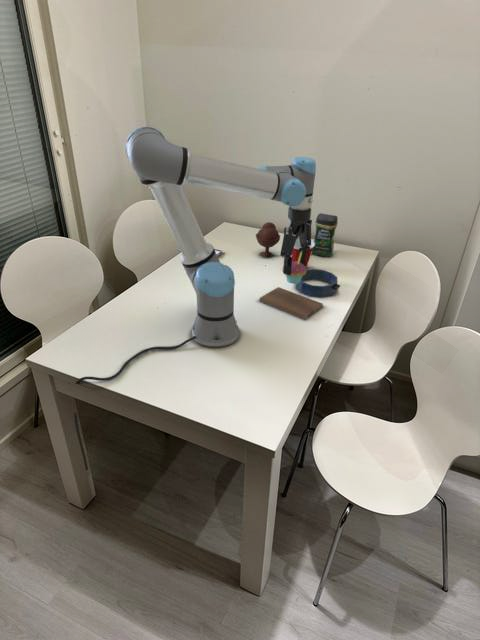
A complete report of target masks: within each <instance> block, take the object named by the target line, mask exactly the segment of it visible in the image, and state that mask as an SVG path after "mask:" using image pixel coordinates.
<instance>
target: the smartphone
mask: <svg viewBox="0 0 480 640" xmlns="http://www.w3.org/2000/svg"><path fill="white" fill-rule="evenodd" d="M214 250H215V252H216V254H217V256H218V257H219V256H221V255H222V254H223V250H221V249H216V248H214Z"/></svg>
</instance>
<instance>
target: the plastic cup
mask: <svg viewBox="0 0 480 640" xmlns="http://www.w3.org/2000/svg"><path fill="white" fill-rule="evenodd" d="M307 242H308V241H307ZM314 246H315V242H314V240H312V239H311V245H310V246H309V247H310V249H307V253H306V262H305V267H306V269H307V268H308V264H309V262H310V258H311V255H312V249H313V247H314ZM299 248H302V247H301V245H300V240H299V237H298V239H296V242H295V245H294V248H293V252H292V255H291V257H292V262H294V261H297V262H298V256H299Z"/></svg>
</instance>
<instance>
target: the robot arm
mask: <svg viewBox="0 0 480 640" xmlns="http://www.w3.org/2000/svg"><path fill="white" fill-rule="evenodd" d="M125 154H126V156H127V158H128V160H129V162H130V165H131V168H133V170H134V171H135V173H136V175H137V177H138V180H139V182H140V183H141V185H142V186H144V187H147V188H149V190H150V191H151V194H152V195H153V197H154V200H155V201H156V204H157V206H158V208H159V210H160V212H161V214H162V216H163V218H164V220H165V222H166V224H167V226H168V229H169V230H170V232H171V234H172V236H173V238H174V240H175V242H176V244H177V246H178V248H179V251H180V253H181V256H180V258H179V260H180V263H181V265H182V266H183V269H184V270H185V273H186V275H187V277H188V279H189V281H190V283H191V285H192V287H193V290H194V292H195V295H196V311H197V312H196V316H195V320H194V323H193V326H192V328H191V336H192V337H190V338H188V339H186V340H184V341H183V342H180V343H179V344H177V345H174V346H173V345H172V346H152V347H148V348H145V349H142V350H140V351H139V352H137V353H135V354H134V355H132V357H129V359H127V360H126V361H125V362H124V363H123V364H122V366H121V367H120V368H119V370H118V371H117V372H116V373H115V374H113V375H111V376H108V377H97V376H83V377H80V378H79V379H78V380H76V382H74V383H75V385H78V384H80V382H82V381H85V380H92V381H100V382H102V381H104V382H107V381H111V380H113V379H115V378H116V377H118V376H119V375H120V374H122V372H123V370H124V369H125V367H126V366H127V365H129V363H130V362H132V361H133V360H135V359H136V358H137V357H139V356H140V355H142V354H145V353H147V352H150V351H154V350H174V349H178V348H179V349H180V348H181V347H183V346H184V345H186V344H187V343H190V342H191V341H194V342H196V343H197V344H199V345H201V346H204V347H207V348H223V347H227V346H230V345H232V344H234V343H235V342H236V341H237V340H238V339H239V333H240V329H239V326H238V321H237V319H236V317H235V314H234V312H235V310H234V308H235V285H236V279H235V273H234V271H233V269H232V268H231V267H230V266H229V265H227V264H224V263H223V262H221V261H220V259H219V256H217V254H216V252H215V250H214V249H215V248H214V245H213V244H212V243H209V242H207V241H206V239H205V237H204V234H203V232H202V230H201V228H200V225H199V224H198V221H197V219H196V217H195V215H194V213H193V212H194V211H193V210H192V208H191V205H190V203H189V201H188V198H187V196H186V194H185V192H184V190H183V188H182V186H183V185H184V184H191V185H197V186H201V187H206V188H212V189H217V190H222V191H225V192H226V191H227V192H231V193H236V194H242V195H246V196H253V197H257V198H262V199H267V200H271V201H276V202H280V203H282V204H283V205H284V206H288V210H287V211H288V212H287V218H288V219H289V220H290V223H289V226H288V227H287V226H286V227H284V228H283V239H282V243H281V249H280V254H279V255H280V257H282V258H283V266H284V269H283V271H282V274H284V275H285V274H287V275H291V267H292V252H293V248H294V245H295V242H296V239H298V238H299V240H300V245H301V247H302V248H299V255H300V252H301V251H302V255H301V259H300V263H302V264H304V265H305V262H306V253H307V249H310V247H309V246H310V245H311V240H312V225H313V224H312V223H313V219H311V217H312V216H311V215H312V205H313V201H314V199H313V195H314V187H315V180H316V178H315V177H316V174H317V173H316V169H317V166H316V165H317V162H316V160H315V159H314V158H312V157H307V156H298V157H297V156H296V157H294V158H293V159H292V161H291V164H289V165H266V166H265V165H264V166H258V167H252V166H248V165H243V164H240V163H235V162H231V161H226V160H222V159H218V158H214V157H209V156H206V155H205V156H204V155H200V154H196V153H192V152H191V151H190V150H189V149H188V147H184V146H180V145H178V144H175V143H173V142H170V141H169V140H167V139H166V138H165V136H164V135H163V133H162V132H161V131H160V130H158V129H157V128H154V127H151V126H139V127H137V128H135V129H134V130H132V131H131V133H130V134H129V135H128V137H127V139H126V143H125ZM307 241H308V242H307ZM298 259H299V256H298ZM73 419H74V425H75V431H76V434H77V439H78V443H79V448H80V450H81V454H82V459H83V463H84V464H83V465H84V468H85V471H89V468H88V462H87V456H86V453H85V449H84V444H83V441H82V437H81V432H80V428H79V421H78V414H77V413H76V412H73Z"/></svg>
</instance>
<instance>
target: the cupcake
mask: <svg viewBox="0 0 480 640" xmlns="http://www.w3.org/2000/svg"><path fill="white" fill-rule="evenodd" d="M301 255H302V251H301V252H300V255H299V259H298V262H297V261H294V262H292V267H291V275H287V274H284V275H285V278H286V282H287V283H289V284H293V285H294V284H295V285H297V283H299V282H300V281H301V278H302V276H303V275H305V274H306V270H307V268H306V267H305V265H304V264H302V263H300V259H301ZM283 269H284V265H283V266H282V268H281V271H282V272H283Z"/></svg>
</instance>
